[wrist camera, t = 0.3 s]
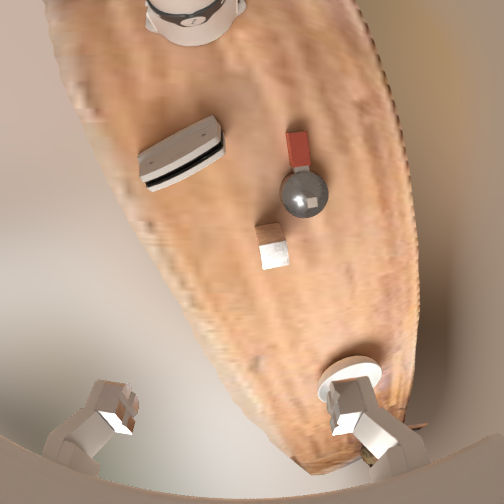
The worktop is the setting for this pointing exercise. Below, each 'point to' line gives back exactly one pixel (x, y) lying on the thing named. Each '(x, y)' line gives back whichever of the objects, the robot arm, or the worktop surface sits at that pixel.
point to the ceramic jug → (368, 456)
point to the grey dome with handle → (302, 180)
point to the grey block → (272, 245)
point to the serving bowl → (349, 373)
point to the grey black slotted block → (182, 154)
